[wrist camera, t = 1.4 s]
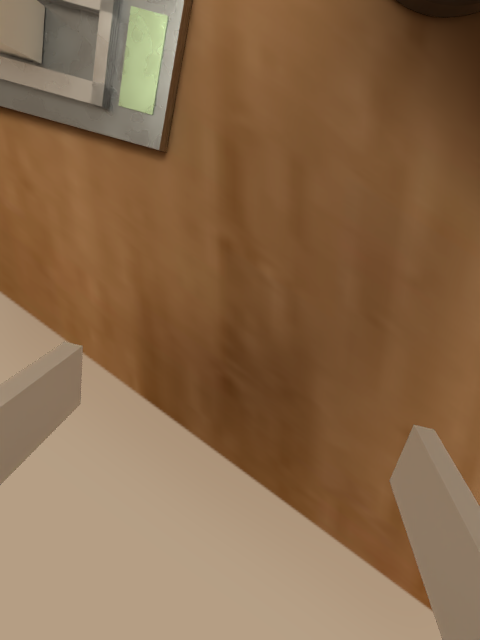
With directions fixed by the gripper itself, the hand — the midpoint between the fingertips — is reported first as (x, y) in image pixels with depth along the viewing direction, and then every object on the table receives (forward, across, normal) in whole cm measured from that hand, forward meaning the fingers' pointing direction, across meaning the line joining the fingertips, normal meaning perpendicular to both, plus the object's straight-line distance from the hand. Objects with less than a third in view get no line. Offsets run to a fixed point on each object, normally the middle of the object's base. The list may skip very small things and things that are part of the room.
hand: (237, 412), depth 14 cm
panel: (+23, -24, +16) cm, 37 cm away
